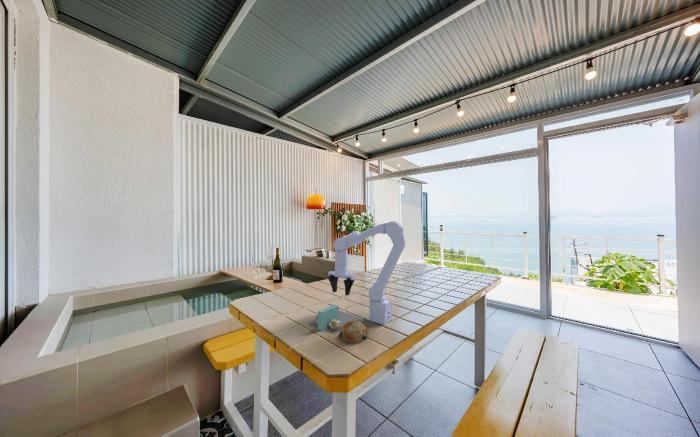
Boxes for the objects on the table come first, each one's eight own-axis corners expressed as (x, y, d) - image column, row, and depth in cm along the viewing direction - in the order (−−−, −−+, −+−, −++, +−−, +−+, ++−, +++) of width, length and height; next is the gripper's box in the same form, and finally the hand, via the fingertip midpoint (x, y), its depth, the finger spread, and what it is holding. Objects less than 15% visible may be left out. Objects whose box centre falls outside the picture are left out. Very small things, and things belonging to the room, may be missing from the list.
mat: (364, 318, 108) (364, 317, 108) (334, 335, 92) (334, 334, 92) (336, 310, 118) (336, 309, 118) (305, 324, 102) (305, 323, 102)
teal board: (338, 322, 103) (338, 305, 103) (322, 330, 95) (322, 312, 95) (334, 320, 105) (334, 304, 105) (317, 329, 97) (317, 311, 97)
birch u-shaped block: (341, 328, 97) (341, 321, 97) (337, 330, 95) (337, 322, 96) (319, 321, 104) (319, 314, 104) (316, 322, 103) (316, 315, 103)
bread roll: (354, 356, 84) (362, 338, 83) (332, 337, 89) (340, 319, 88) (367, 344, 93) (375, 327, 91) (346, 327, 98) (354, 310, 96)
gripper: (323, 263, 114) (323, 292, 114) (348, 266, 105) (348, 298, 105) (333, 261, 120) (333, 289, 120) (357, 264, 111) (357, 294, 111)
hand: (341, 293), depth 113 cm, fingers open, 7 cm apart
